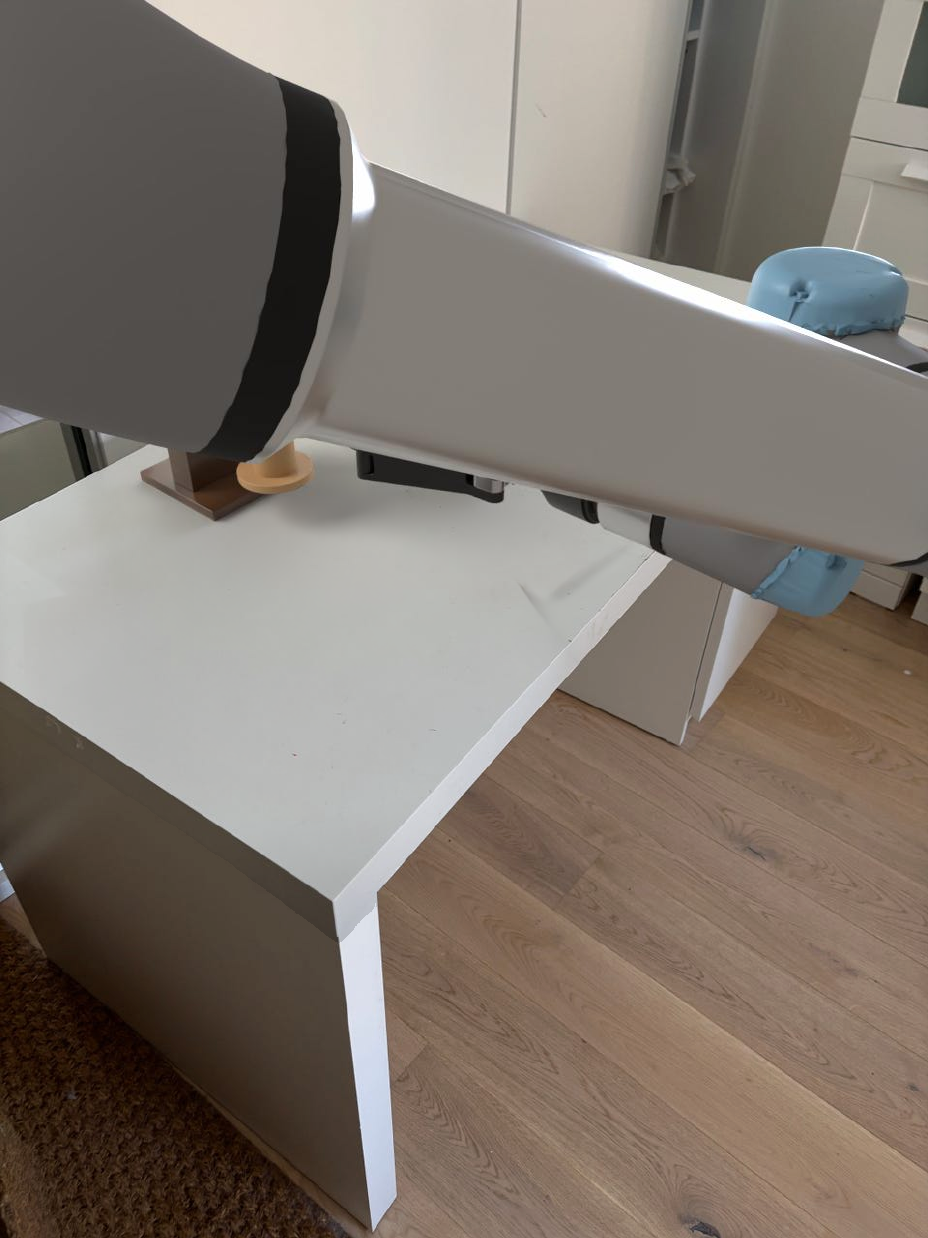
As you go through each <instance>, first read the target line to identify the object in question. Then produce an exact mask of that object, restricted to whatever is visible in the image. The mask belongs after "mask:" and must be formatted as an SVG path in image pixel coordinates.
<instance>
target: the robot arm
mask: <svg viewBox="0 0 928 1238" xmlns="http://www.w3.org/2000/svg"><path fill="white" fill-rule="evenodd" d="M909 291H910V287H909V283H908V282H907V279H905V278H904V276H903V273H902V271H901V270H900V269H899V268H898V267H896V265H894V264H892V263H890V262H888V261H887V260H885V259H883V258H880V257H877V256H874V255H872V254H868V253H865V252H862V251H858V250H853V249H845V248H841V247H830V246H829V247H828V246H806V247H805V246H804V247H797V248H789V249H785V250H782V251H779V252H777V253H774V254H773V255H770V256H769V257H767V258H766V259H765V260H764V261H762V263H761V264H760V265H759V266H758V267H757V268H756V270H755V272H754V274H753V277H752V280H751V283H750V288H749V292H748V295H747V298H746V303H745V305H743V304H740V303H738V302H736V301H733V300H730V299H729V298H726V297H723V296H720V295H717V294H715V293H712V292H710V291H707V290H704V289H702V288H700V287H698V286H697V287H696V286H694V285H692V284H689V283H686V282H683V281H681V280H678V279H676V278H673V277H671V276H669V275H666V274H663V273H660V272H659V271H655V270H652V269H650V268H648V267H645V266H643V265H641V264H637V263H635V262H632V261H629V260H627V259H624V258H622V257H619V256H617V255H615V254H612V253H609V252H607V251H605V250H601V249H598V248H596V247H593V246H591V245H588V244H585V243H584V242H580V241H578V240H576V239H573V238H570V237H568V236H565V235H562V234H560V233H557V232H554V231H552V230H549V229H546V228H545V227H541V226H539V225H536V224H534V223H531V222H528V221H527V220H524V219H521V218H518V217H516V216H513V215H511V214H508V213H505V212H503V211H500V210H498V209H495V208H493V207H490V206H487V205H485V204H483V203H479V202H478V201H474V200H472V199H469V198H467V197H464V196H462V195H459V194H458V193H457V194H456V193H453V192H452V191H449V190H446V189H444V188H441V187H438V186H437V185H433V184H430V183H429V182H426V181H423V180H420V179H418V178H415V177H413V176H410V175H408V174H406V173H402V172H400V171H397V170H395V169H392V168H389V167H386V166H384V165H381V164H379V163H377V162H374V161H371V160H368V158H366V157H365V156H364V155H363V153H362V150H361V149H360V146H359V144H358V142H357V139H356V137H355V134H354V132H353V130H352V127H351V124H350V123H349V121H348V118H347V116H346V113H345V111H344V109H343V108H342V107H341V105H340V104H339V103H338V102H337V101H335V100H334V99H332V98H330V97H328V96H325V95H323V94H320V93H318V92H316V91H313V90H311V89H309V88H306V87H303V86H301V85H299V84H296V83H293V82H291V81H289V80H286V79H284V78H282V77H279V76H276V75H274V74H273V73H271V72H267V71H265V70H263V69H261V68H259V67H257V66H255V65H253V64H251V63H249V62H248V61H245V60H244V59H241V58H239V57H238V56H236V55H234V54H232V53H230V52H229V51H227V50H225V49H223V48H221V47H220V46H218V45H216V44H214V43H213V42H211V41H209V40H207V39H206V38H204V37H202V36H201V35H199V34H198V33H196V32H194V31H193V30H191V29H190V28H188V27H186V26H185V25H183V24H182V23H181V22H179V21H177V20H176V19H175V18H173V17H171V16H170V15H168V14H167V13H165V12H163V11H162V10H160V9H159V8H158V7H156V6H154V5H153V4H151V3H149V2H148V1H147V0H0V406H2V407H6V408H10V409H13V410H16V411H18V412H23V413H26V414H29V415H32V416H35V417H38V418H41V419H45V420H48V421H52V422H56V423H60V424H65V425H69V426H73V427H77V428H80V429H84V430H87V431H92V432H97V433H100V434H105V435H108V436H111V437H112V436H113V437H117V438H121V439H124V440H125V439H126V440H129V441H134V442H138V443H143V444H147V445H150V446H155V447H159V448H165V449H167V448H168V449H174V450H180V451H186V452H189V453H197V454H202V455H207V456H212V457H216V458H221V459H226V460H231V461H236V462H241V463H246V464H251V465H252V464H258V463H261V462H262V461H264V460H266V459H267V458H269V457H270V456H271V455H273V454H274V453H276V452H277V451H279V450H280V449H281V448H283V447H284V446H286V445H287V444H289V443H290V442H292V441H293V440H294V441H295V440H296V439H308V440H314V441H318V442H323V443H327V444H332V445H336V446H341V447H345V448H349V449H350V450H353V451H355V458H356V459H355V460H356V476H357V478H358V479H360V480H362V481H370V482H377V483H383V484H390V485H391V484H392V485H397V486H405V487H410V488H411V487H412V488H420V489H426V490H434V491H441V492H448V493H455V494H462V495H463V494H464V495H468V496H471V497H473V498H476V499H479V500H481V501H484V502H487V503H490V504H500V503H502V502H504V500H505V489H506V487H507V486H508V485H509V484H514V485H518V486H523V487H527V488H531V489H536V490H540V492H541V493H542V495H543V496H544V499H545V500H546V502H547V503H548V504H549V505H550V506H551V507H553V508H554V509H556V510H559V511H561V512H563V513H566V514H568V515H570V516H573V517H574V518H577V519H579V520H581V521H584V522H586V523H588V524H591V525H596V524H600V526H601V527H602V528H603V529H604V530H606V531H608V532H610V533H613V534H615V535H618V536H620V537H622V538H624V539H627V540H629V541H631V542H634V543H637V544H639V545H640V546H643V547H645V548H647V549H650V550H653V551H655V552H656V553H658V554H660V555H662V556H664V557H666V558H669V559H671V560H673V561H675V562H678V563H680V564H682V565H684V566H686V567H688V568H691V569H693V570H695V571H697V572H699V573H701V574H703V575H706V576H707V577H710V578H712V579H714V580H716V581H718V582H721V583H722V584H725V585H727V586H729V587H732V588H734V589H736V590H737V591H740V592H742V593H744V594H746V595H748V596H750V598H751V599H753V600H760V601H763V602H765V603H768V604H771V605H774V606H776V607H778V608H782V609H783V610H786V611H789V612H793V613H796V614H798V615H799V614H800V615H801V616H805V617H808V618H809V617H810V618H821V617H824V616H825V617H826V616H827V615H829V614H831V613H832V612H833V611H835V610H836V609H837V608H838V607H839V606H840V605H841V604H842V603H843V601H844V600H845V599H846V598H847V596H848V595H849V593H850V592H851V590H852V589H853V587H854V586H855V584H856V582H857V580H858V579H859V577H860V575H861V573H862V572H863V569H864V567H865V565H866V562H868V563H871V564H877V565H880V566H884V567H888V568H892V569H895V570H899V571H902V572H908V573H912V574H915V575H919V576H921V577H923V578H925V579H927V580H928V352H927V351H926V350H924V349H922V348H920V347H919V346H917V345H915V344H914V343H912V342H910V341H909V340H908V339H905V338H904V337H903V336H901V335H900V334H899V332H900V330H901V327H902V326H903V325H904V324H905V320H906V310H907V303H908V299H909V293H910V292H909ZM168 449H167V450H168Z"/></svg>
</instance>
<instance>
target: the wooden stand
mask: <svg viewBox="0 0 928 1238" xmlns="http://www.w3.org/2000/svg"><path fill="white" fill-rule="evenodd" d="M166 449H167V453H168V458H166V459H164V460H162V461H160V462H157V463H155V464H153V465H152V466H148V467H147V468H145V469H142V470H140V472H139V473H140V478H141V481H143V482H144V483H147V484H148V485H150V486H152V487H153V488H156V489H157V490H159V491H160V492H162V493H164V494H166V495H167V496H169V497H171V498H173V499H175V500H177V501H178V502H180V503H182V504H183V505H185V506H187V507H188V508H191V509H192V510H194V511H195V512H198V513H199V514H201V515H203V516H204V517H206V518H208V519H210V520H212V521H213V522H215V521H217V520H219V519H220V518H222V517H224V516H227V515H228V514H231V513H232V512H234V511H236V510H237V509H239V508H241V507H243V506H245V505H247V504H249V503H251V502H252V501H254V500H256V499H259V498H260V497H262V496H265V494H262V493H256V492H252V491H250V490H247V489H246V488H244V487H243V486H241V484H240V483H239V481H238V478H237V467H238V465H239V464H240V462H236V461H231V460H226V459H221V458H216V457H212V456H207V455H202V454H197V453H189V452H186V451H180V450H174V449H168V448H166Z"/></svg>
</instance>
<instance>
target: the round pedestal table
mask: <svg viewBox="0 0 928 1238" xmlns="http://www.w3.org/2000/svg"><path fill="white" fill-rule="evenodd" d="M314 474H315V468H314V462H313V460H312V458H311V457H310V456H309V455H308V454H306V453H304V452H302V451H299V450H296V448H295V439H294V440H293V441H292V442H290V443H289V444H287V445H286V446H284V447H283V448H281V449H280V450H279V451H277V452H276V453H274V454H273V455H271V456H270V457H269V458H267V459H266V460H264V461H262V462H261V463H258V464H252V465H251V464H246V463H241V462H240V464H239V465H238V467H237V478H238V481H239V483H240V484H241V486H243V487H244V488H246V489H247V490H250V491H252V492H256V493H262V494H264V495H277V494H278V495H279V494H284V493H285V494H286V493H289V492H293V491H295V490H297V489H300V488H302V487H304V486H305V485H307V484H308V483H309V482H310V481H311V480H312V478H313V477H314Z"/></svg>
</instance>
